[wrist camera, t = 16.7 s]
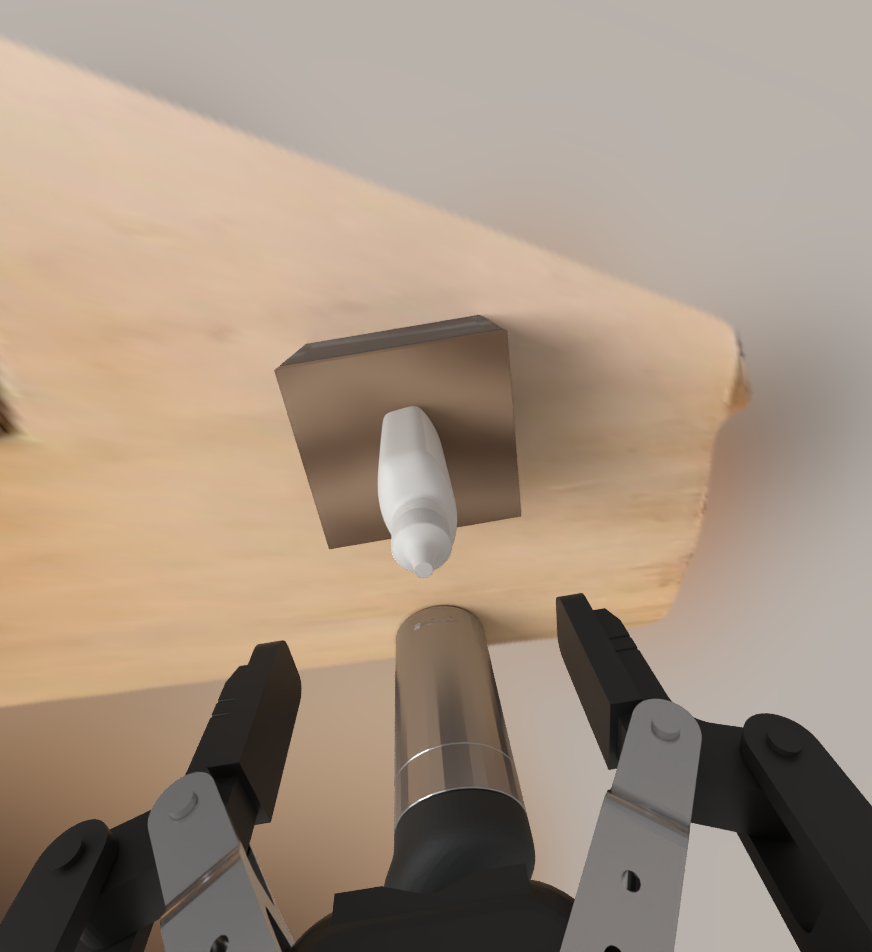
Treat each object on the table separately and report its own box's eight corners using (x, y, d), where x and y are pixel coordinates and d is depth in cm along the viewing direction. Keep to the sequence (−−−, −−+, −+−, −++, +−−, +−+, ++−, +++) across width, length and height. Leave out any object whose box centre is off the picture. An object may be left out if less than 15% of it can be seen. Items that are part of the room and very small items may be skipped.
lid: (517, 508, 31) (521, 516, 30) (331, 540, 31) (329, 549, 30) (503, 328, 26) (506, 331, 25) (278, 366, 25) (274, 370, 25)
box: (494, 461, 38) (516, 506, 31) (344, 487, 38) (331, 538, 31) (479, 314, 33) (501, 328, 26) (305, 344, 33) (279, 365, 26)
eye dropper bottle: (460, 413, 26) (503, 515, 16) (436, 496, 29) (460, 635, 18) (387, 397, 26) (380, 492, 15) (369, 483, 28) (350, 620, 17)
